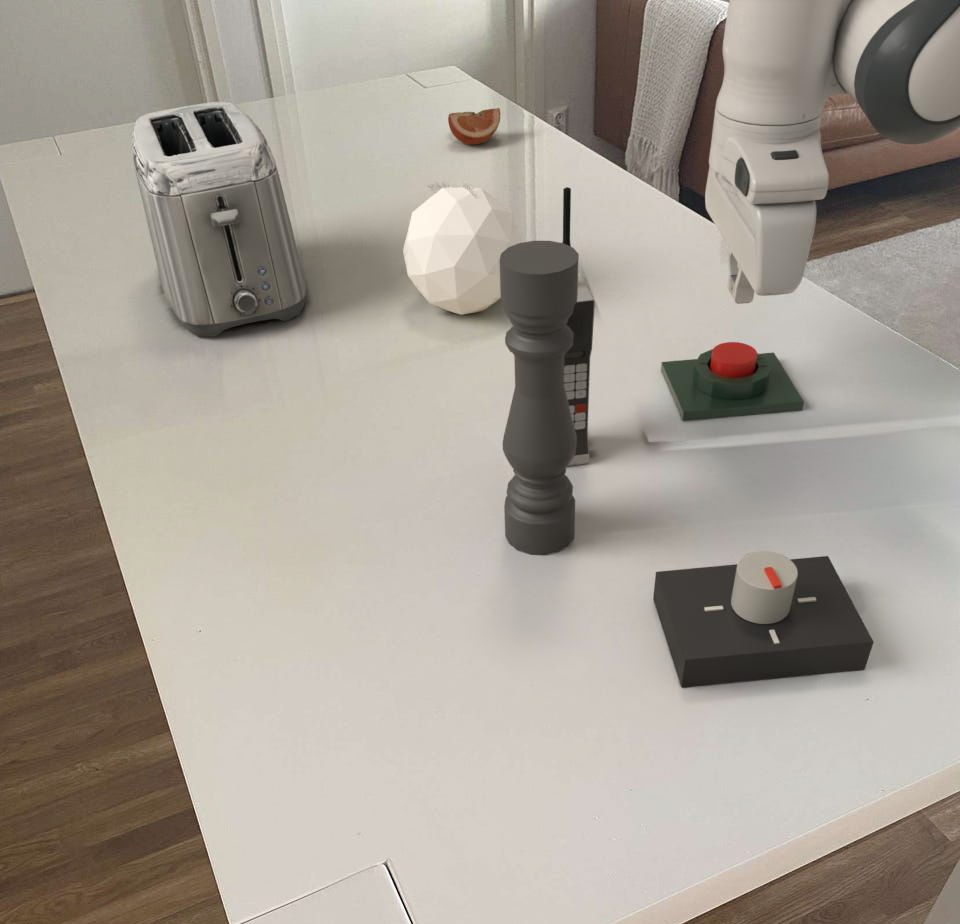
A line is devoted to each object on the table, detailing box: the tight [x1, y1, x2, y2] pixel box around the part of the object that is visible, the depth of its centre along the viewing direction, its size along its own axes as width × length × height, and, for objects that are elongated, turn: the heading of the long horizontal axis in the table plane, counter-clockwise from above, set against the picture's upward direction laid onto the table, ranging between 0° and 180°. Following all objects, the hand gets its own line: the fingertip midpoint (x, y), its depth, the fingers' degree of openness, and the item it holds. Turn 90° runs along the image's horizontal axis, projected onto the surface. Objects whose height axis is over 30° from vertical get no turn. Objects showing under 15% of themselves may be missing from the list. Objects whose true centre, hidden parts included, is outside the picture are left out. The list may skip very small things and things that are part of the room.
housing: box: [660, 348, 805, 422], centre depth 102 cm, size 12×10×4 cm
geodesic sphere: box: [402, 180, 523, 316], centre depth 117 cm, size 15×14×14 cm
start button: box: [710, 341, 758, 378], centre depth 101 cm, size 4×4×2 cm
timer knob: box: [731, 550, 798, 624], centre depth 76 cm, size 4×4×4 cm
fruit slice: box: [447, 107, 501, 145], centre depth 160 cm, size 8×7×5 cm
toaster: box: [131, 101, 307, 338], centre depth 121 cm, size 17×30×19 cm, turn 19°
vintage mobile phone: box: [561, 186, 596, 467], centre depth 89 cm, size 4×5×25 cm
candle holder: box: [500, 240, 580, 556], centre depth 81 cm, size 6×6×25 cm
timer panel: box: [652, 555, 874, 689], centre depth 78 cm, size 14×10×3 cm
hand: (739, 296), depth 97 cm, fingers closed
